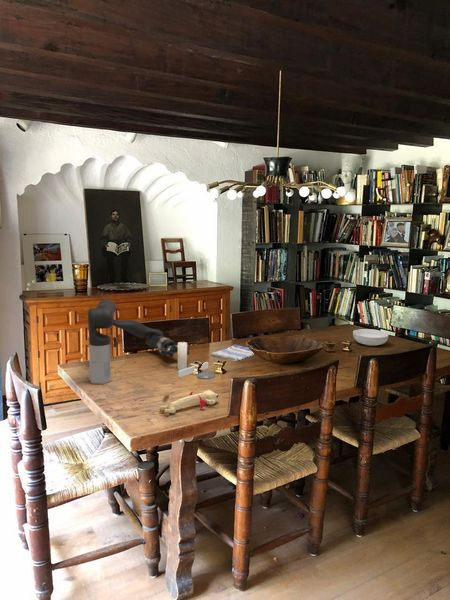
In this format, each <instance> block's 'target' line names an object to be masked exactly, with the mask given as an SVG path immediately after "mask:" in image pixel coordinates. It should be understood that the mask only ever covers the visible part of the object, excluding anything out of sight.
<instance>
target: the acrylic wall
mask: <svg viewBox="0 0 450 600" xmlns="http://www.w3.org/2000/svg"><path fill="white" fill-rule="evenodd" d="M202 363H203V364H202ZM202 363H201V364H202V366H201V368H200V369H201V371H204V370H206V369H209V362H208V361H205V362H202ZM194 369H195V365H193V366H189V367H187V368H186V369H183V370H178V371H177V373H178V374H177V375H178V376H177V377H178V378H182V377H184V376H188V375H191V374H193V373H192V372H193V370H194Z"/></svg>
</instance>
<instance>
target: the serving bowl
mask: <svg viewBox="0 0 450 600" xmlns="http://www.w3.org/2000/svg"><path fill="white" fill-rule="evenodd" d="M352 336H353V339H354V340H355V341H356V343H359V344H362V345H364V346H371V347H374V346H380V345H384V344H385V343H386V342H387V341H388V339H389V336H390V335H389V333H388V332H386V331H382V330H378V329H373V328H371V329H369V328H361V329H355V330H353V331H352Z"/></svg>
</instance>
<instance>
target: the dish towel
mask: <svg viewBox="0 0 450 600" xmlns="http://www.w3.org/2000/svg"><path fill="white" fill-rule="evenodd" d="M249 348H250V347H247V346H243V345H238V344H233V345H231V346H229V347H227V348H222V349H219V350H217V351H213V352H211V354H210V355H211V356H213V357H215V358H220V359H223V360H227V359H228V361H231V360H232V362H235V361H237V362H239V360H240V361H243V360H246V359H248V358H251V357H253V356H255V355H254V353H253V352H252V351H251V350H250V349H249ZM250 356H251V357H250ZM247 357H248V358H247ZM245 358H246V359H245ZM242 359H243V360H242Z"/></svg>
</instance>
